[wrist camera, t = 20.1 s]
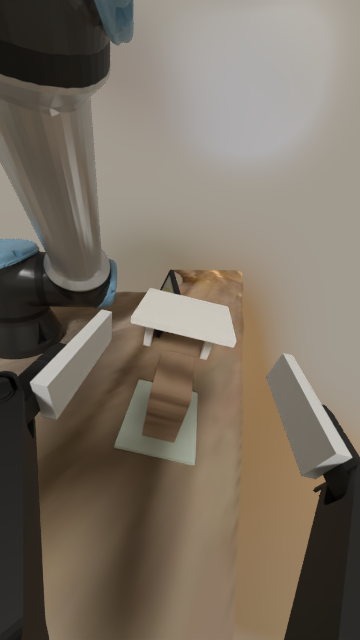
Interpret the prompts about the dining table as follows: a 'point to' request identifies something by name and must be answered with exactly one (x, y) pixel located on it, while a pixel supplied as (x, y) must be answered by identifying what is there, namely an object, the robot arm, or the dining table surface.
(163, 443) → the mat
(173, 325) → the small white table
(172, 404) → the walnut block
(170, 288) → the picture frame
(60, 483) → the dining table surface
